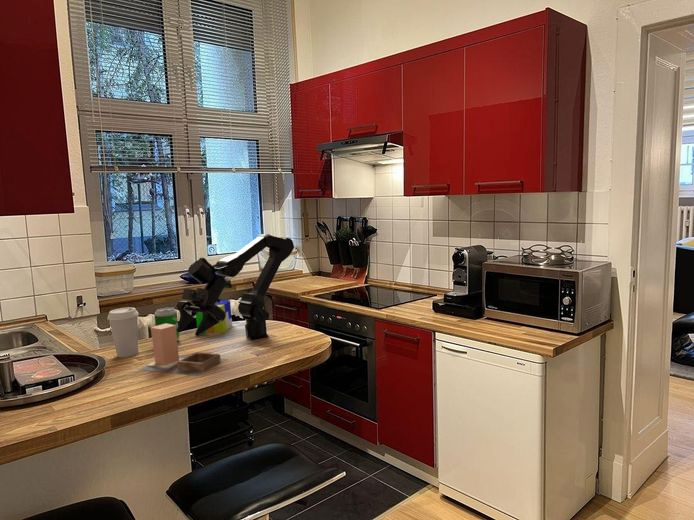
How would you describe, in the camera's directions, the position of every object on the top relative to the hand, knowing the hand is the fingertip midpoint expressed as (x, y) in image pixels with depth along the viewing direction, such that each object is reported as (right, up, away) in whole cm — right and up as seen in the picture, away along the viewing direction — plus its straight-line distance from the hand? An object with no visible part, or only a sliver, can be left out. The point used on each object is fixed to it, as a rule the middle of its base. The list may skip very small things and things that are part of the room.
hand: (187, 333), depth 160 cm
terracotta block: (-4, -8, -5) cm, 10 cm away
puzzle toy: (0, -4, +35) cm, 35 cm away
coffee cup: (-23, -8, +10) cm, 26 cm away
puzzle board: (+1, -9, -7) cm, 12 cm away
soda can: (-13, -6, +22) cm, 26 cm away
